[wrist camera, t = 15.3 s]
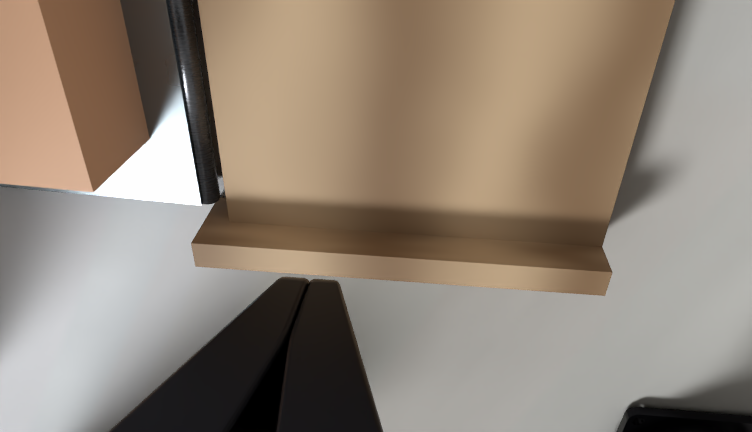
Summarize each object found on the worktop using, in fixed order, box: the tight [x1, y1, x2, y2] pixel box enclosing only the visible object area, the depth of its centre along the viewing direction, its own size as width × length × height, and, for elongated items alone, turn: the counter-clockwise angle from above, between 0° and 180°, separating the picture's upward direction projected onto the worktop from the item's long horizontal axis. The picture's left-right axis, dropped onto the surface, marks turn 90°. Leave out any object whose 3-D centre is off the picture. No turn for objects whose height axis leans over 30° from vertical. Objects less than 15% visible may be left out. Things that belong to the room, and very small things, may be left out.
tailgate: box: [0, 0, 220, 205], centre depth 18 cm, size 10×11×1 cm
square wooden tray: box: [191, 0, 675, 296], centre depth 17 cm, size 14×14×3 cm
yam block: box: [0, 0, 150, 192], centre depth 17 cm, size 6×6×4 cm
